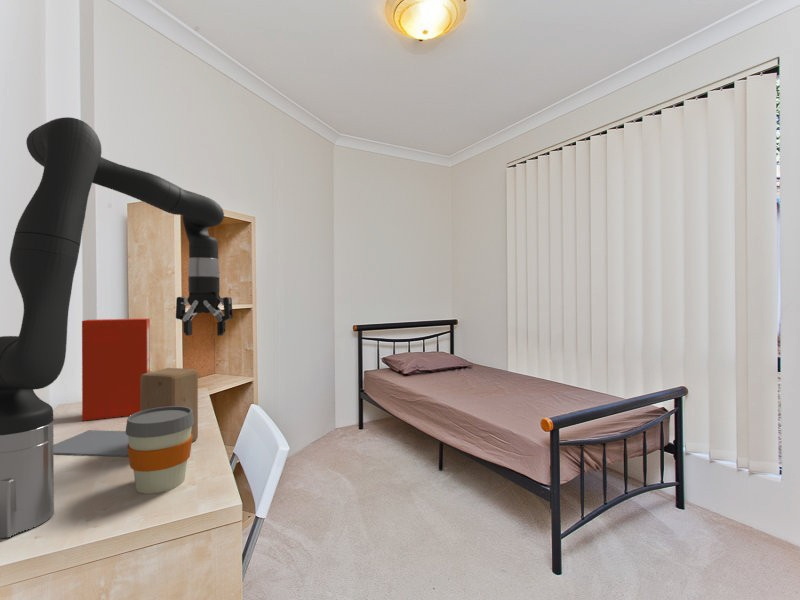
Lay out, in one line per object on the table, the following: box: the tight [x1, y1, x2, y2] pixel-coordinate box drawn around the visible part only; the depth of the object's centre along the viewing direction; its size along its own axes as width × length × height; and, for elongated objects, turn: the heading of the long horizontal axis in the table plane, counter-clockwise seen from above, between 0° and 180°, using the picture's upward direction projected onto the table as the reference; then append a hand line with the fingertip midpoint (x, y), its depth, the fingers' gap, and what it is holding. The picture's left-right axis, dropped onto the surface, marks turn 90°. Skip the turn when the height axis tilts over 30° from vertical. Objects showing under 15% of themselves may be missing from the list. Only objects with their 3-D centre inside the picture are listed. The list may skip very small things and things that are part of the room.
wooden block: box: [140, 367, 199, 443], centre depth 105 cm, size 10×10×20 cm
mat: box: [53, 429, 129, 457], centre depth 106 cm, size 16×24×1 cm, turn 87°
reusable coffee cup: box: [125, 406, 194, 495], centre depth 84 cm, size 13×13×15 cm
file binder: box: [81, 318, 151, 422], centre depth 131 cm, size 8×17×32 cm, turn 116°
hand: (204, 335), depth 105 cm, fingers open, 8 cm apart
